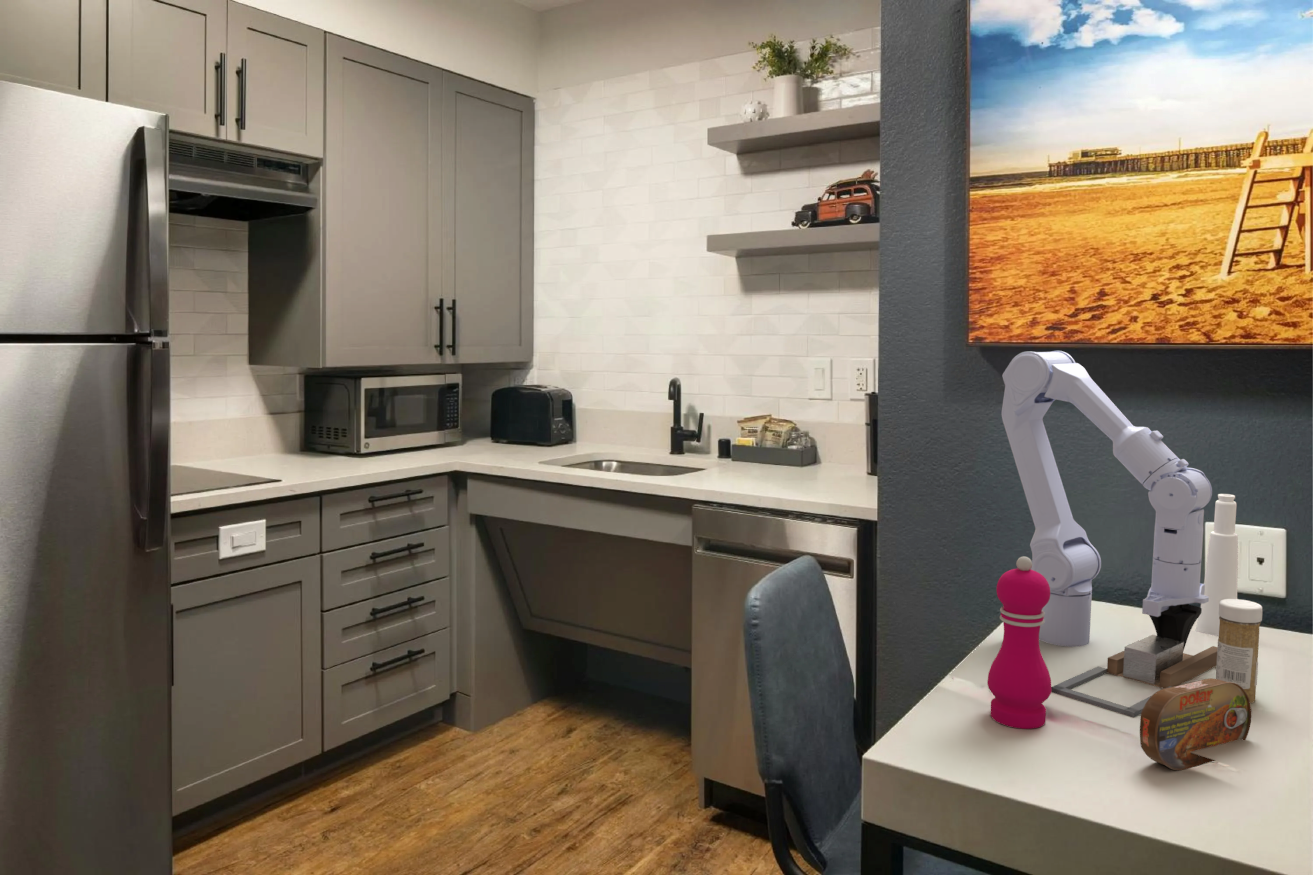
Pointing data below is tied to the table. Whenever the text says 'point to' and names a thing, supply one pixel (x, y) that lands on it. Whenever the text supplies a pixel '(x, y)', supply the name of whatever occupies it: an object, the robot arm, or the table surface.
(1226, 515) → the cosmetic bottle
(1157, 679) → the light grey cube
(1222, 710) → the tin
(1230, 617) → the sprinkles bottle
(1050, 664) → the table surface
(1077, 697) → the tray
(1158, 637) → the grey cube
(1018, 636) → the pepper mill
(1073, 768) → the table surface
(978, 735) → the table surface
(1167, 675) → the slot board
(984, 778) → the table surface
